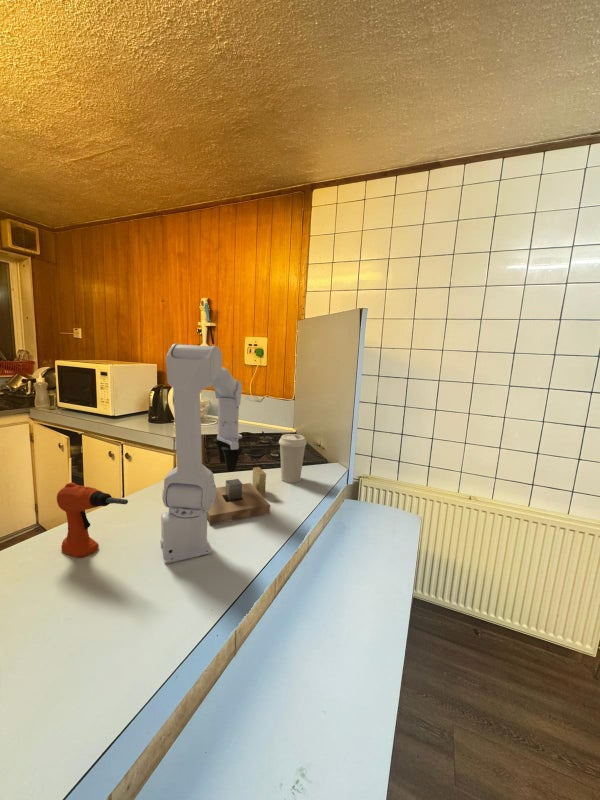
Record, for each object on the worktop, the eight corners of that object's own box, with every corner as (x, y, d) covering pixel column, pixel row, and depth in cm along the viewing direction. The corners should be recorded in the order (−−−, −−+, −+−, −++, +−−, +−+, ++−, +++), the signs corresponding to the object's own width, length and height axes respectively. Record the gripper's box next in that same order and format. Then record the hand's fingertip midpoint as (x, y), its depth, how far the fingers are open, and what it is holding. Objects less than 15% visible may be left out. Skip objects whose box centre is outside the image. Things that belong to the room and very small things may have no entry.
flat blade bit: (258, 496, 100) (259, 474, 99) (252, 488, 105) (253, 467, 104) (265, 495, 101) (265, 473, 100) (258, 488, 106) (259, 467, 105)
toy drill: (124, 568, 63) (114, 492, 61) (56, 555, 69) (45, 485, 68) (144, 554, 67) (135, 482, 66) (78, 543, 74) (69, 477, 72)
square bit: (228, 509, 91) (229, 485, 90) (225, 504, 94) (225, 480, 93) (241, 507, 92) (242, 483, 91) (237, 502, 96) (238, 478, 94)
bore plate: (209, 525, 82) (209, 515, 82) (197, 498, 96) (197, 490, 96) (269, 513, 90) (269, 504, 89) (250, 490, 104) (250, 482, 103)
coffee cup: (302, 486, 109) (304, 441, 107) (274, 482, 111) (276, 439, 108) (306, 475, 119) (308, 434, 116) (280, 472, 120) (282, 432, 118)
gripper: (249, 425, 90) (248, 473, 92) (234, 415, 103) (233, 457, 105) (224, 427, 87) (223, 476, 89) (211, 416, 100) (211, 459, 102)
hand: (227, 466), depth 97 cm, fingers open, 7 cm apart
